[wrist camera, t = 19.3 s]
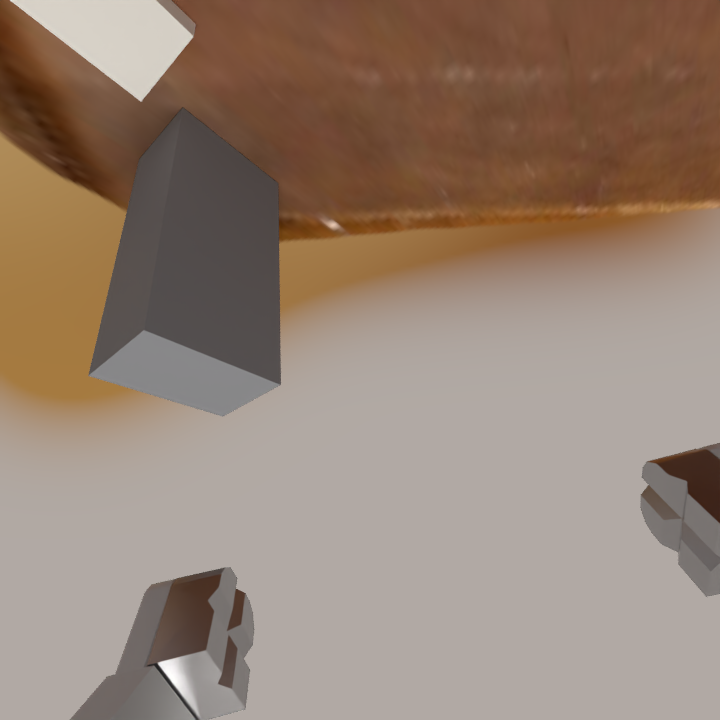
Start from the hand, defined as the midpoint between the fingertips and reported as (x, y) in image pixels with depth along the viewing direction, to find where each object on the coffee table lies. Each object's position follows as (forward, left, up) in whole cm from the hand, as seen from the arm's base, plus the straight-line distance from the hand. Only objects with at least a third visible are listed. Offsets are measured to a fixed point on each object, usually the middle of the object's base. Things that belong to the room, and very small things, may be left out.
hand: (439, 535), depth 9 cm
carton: (+25, +9, -43) cm, 51 cm away
